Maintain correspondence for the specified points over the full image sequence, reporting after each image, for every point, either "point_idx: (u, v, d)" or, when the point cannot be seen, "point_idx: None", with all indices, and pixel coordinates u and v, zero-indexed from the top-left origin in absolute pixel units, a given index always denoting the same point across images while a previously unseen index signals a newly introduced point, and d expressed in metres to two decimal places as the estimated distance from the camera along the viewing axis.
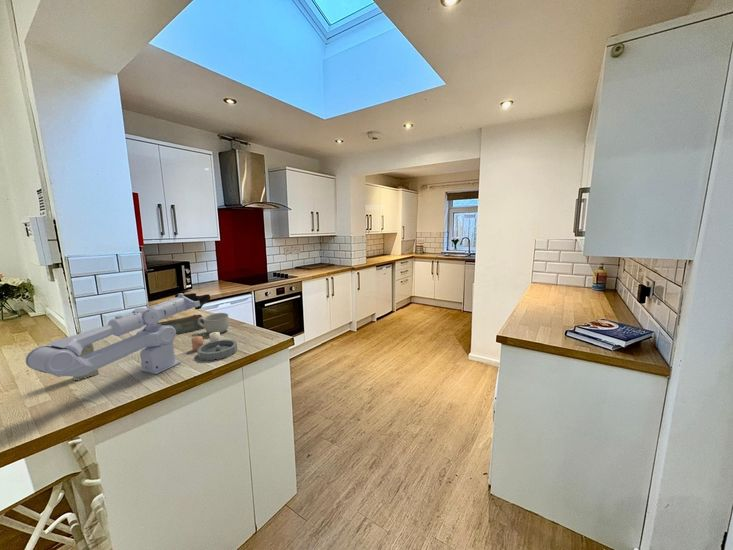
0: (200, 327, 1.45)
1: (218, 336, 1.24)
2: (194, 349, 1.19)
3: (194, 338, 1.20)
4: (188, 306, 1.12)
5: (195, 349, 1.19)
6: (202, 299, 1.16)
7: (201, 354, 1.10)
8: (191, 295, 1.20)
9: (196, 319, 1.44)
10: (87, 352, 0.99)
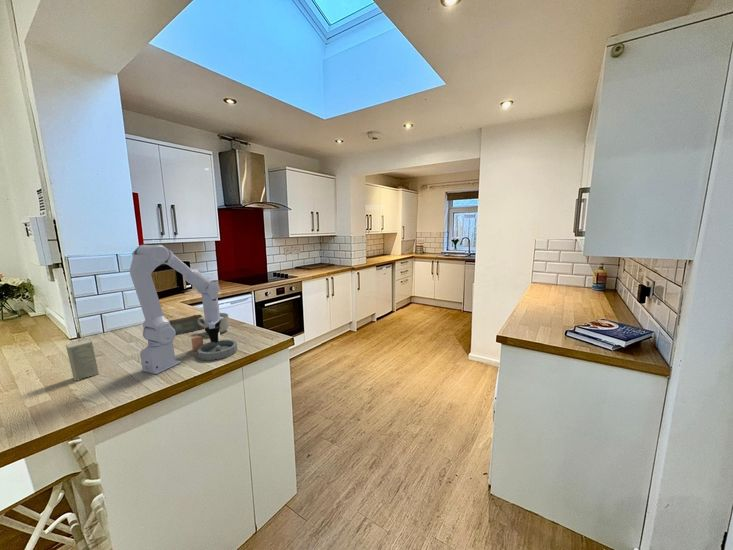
0: (200, 327, 1.45)
1: (218, 336, 1.24)
2: (194, 349, 1.19)
3: (194, 338, 1.20)
4: (209, 321, 1.21)
5: (195, 349, 1.19)
6: (214, 334, 1.21)
7: (201, 354, 1.10)
8: None
9: (196, 319, 1.44)
10: (87, 352, 0.99)
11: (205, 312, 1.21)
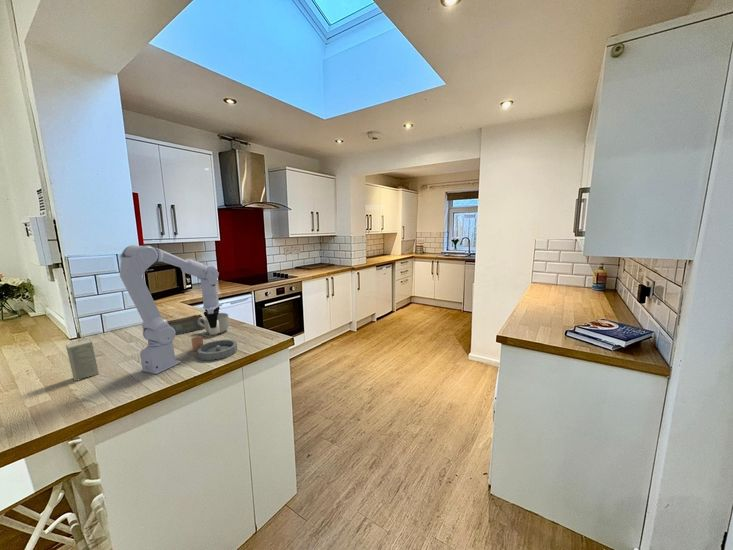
0: (200, 327, 1.45)
1: (217, 324, 1.23)
2: (194, 349, 1.19)
3: (194, 338, 1.20)
4: (208, 307, 1.19)
5: (195, 349, 1.19)
6: (212, 319, 1.21)
7: (201, 354, 1.10)
8: None
9: (196, 319, 1.44)
10: (87, 352, 0.99)
11: (204, 297, 1.19)
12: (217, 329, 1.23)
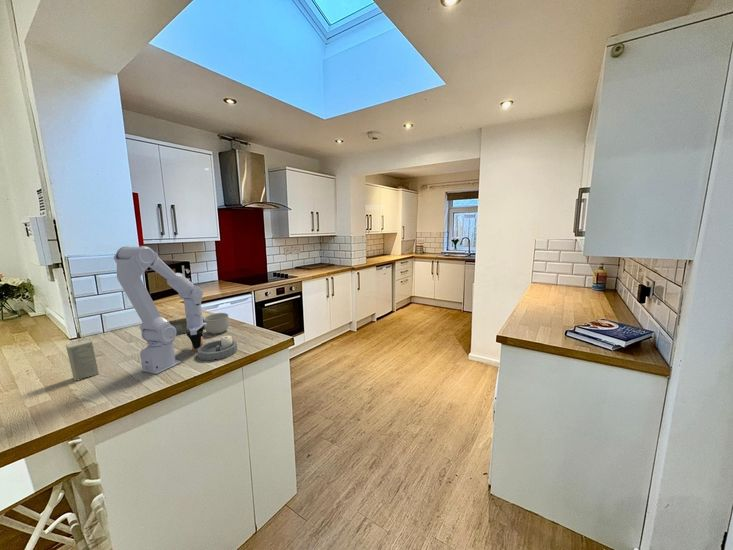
0: None
1: (230, 340, 1.17)
2: (194, 349, 1.19)
3: None
4: (191, 327, 1.16)
5: (195, 349, 1.19)
6: (196, 339, 1.18)
7: (201, 354, 1.10)
8: None
9: None
10: (87, 352, 0.99)
11: (187, 318, 1.16)
12: (230, 345, 1.17)
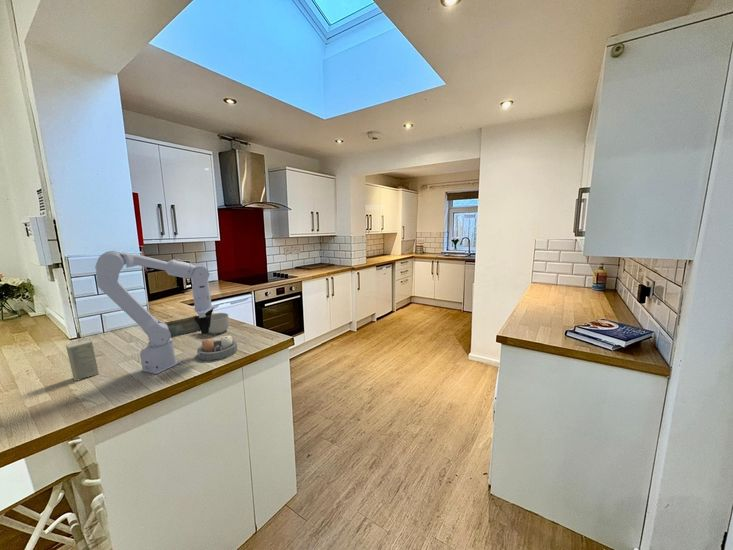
0: None
1: (230, 340, 1.17)
2: None
3: (204, 341, 1.14)
4: (199, 310, 1.10)
5: None
6: (204, 324, 1.10)
7: (201, 354, 1.10)
8: (208, 322, 1.17)
9: None
10: (87, 352, 0.99)
11: (195, 300, 1.10)
12: (230, 345, 1.17)
